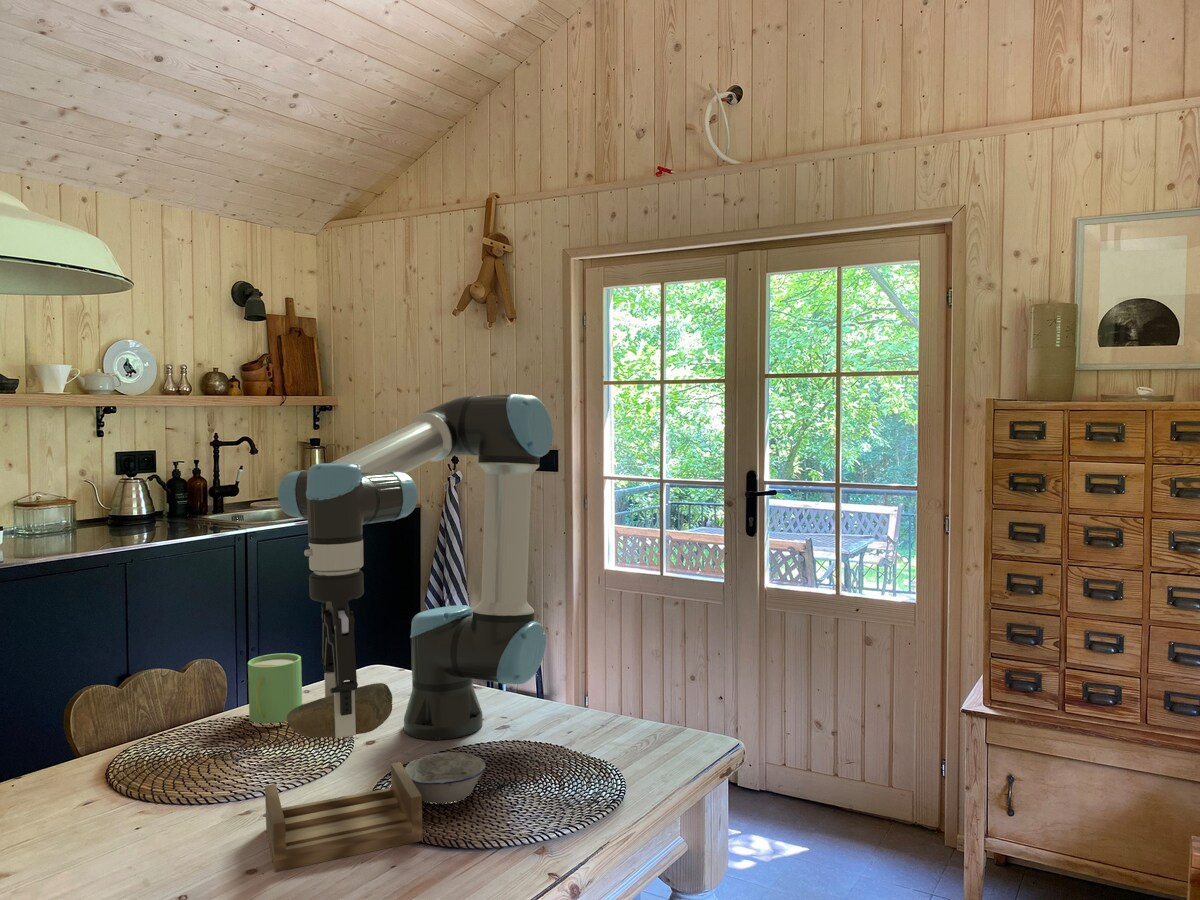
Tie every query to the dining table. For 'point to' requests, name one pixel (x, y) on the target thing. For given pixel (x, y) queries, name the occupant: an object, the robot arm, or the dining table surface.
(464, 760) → the bowl
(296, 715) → the stone
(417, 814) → the rack
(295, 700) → the mug
